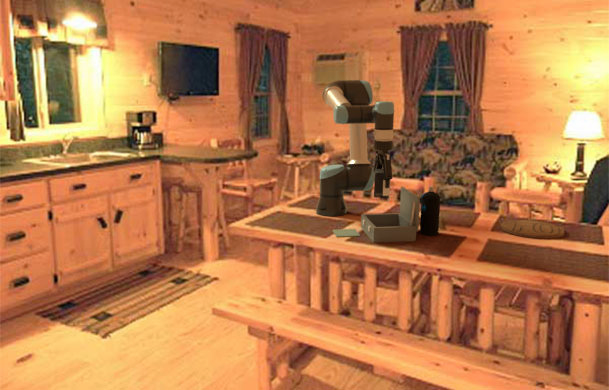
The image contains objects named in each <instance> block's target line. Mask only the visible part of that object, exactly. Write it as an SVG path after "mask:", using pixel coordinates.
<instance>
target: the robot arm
mask: <svg viewBox="0 0 609 390" xmlns="http://www.w3.org/2000/svg"><path fill="white" fill-rule="evenodd" d="M373 98H374V95H373V88H372V85H371V83H370V82H369V81H368V80H361V79H356V80H355V79H352V80H350V79H349V80H347V79H346V80H343V79H342V80H339V79H338V80H333V81H332V82H330V83H328V84H327V85H326V86H325V87H324V88H323V91H322V99H323V101H324V103H325V104H326V105H327V106H330V107H331V109H332V110H333V112H332V113H333V116H332V117H333V122H334V123H335V124H340V125H348V136H349V139H348V140H349V161H348V162H347V163H346V167H345V166H344V164H330V165H326V166H323V167H321V168H320V171H319V177H318V178H319V197H318V202H317V204H316V208H315V213H316V214H317V215H320V216H324V217H325V216H328V217H338V216H344V215H346V214H347V213H348V207H347V205H346V202H345V198H344V192H363V191H370V190H371V189H372V188H373V187H374V180H375V170H376V169H383V174H384V178H383V179H382V180H383V196H389V197H390V195H391V180H392V179H393V169H392V167H393V166H392V154H389V151H392V150H393V147H394V145H393V144H394V141H393V139H394V118H395V117H394V116H395V103H394V102H393V101H388V100H387V101H386V100H385V101H381V100H379V101H376V102H375V103H374V104H373V105H372V103H373ZM367 124H368V125H369V124H370V125H371V124H374V131H373V135H374V142H373V144H374V145H373V148H374V150H375V155H374V164H373V166H372V163H371V162H370V161H369V159H368V135H367V134H368V129H367V126H368V125H367Z"/></svg>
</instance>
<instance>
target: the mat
mask: <svg viewBox="0 0 609 390" xmlns="http://www.w3.org/2000/svg"><path fill="white" fill-rule="evenodd" d="M332 233H333V235H334V236H335V237H336V238H351V237H353V238H354V237H361V234H360V233H359V232H358V231H357V229H356V228H345V229H342V228H341V229H332Z"/></svg>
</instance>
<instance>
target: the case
mask: <svg viewBox="0 0 609 390" xmlns="http://www.w3.org/2000/svg"><path fill="white" fill-rule="evenodd" d="M420 199H421V196H419V195H417V193H416V194H415V193H414V192H413V191H410V190H409V189H408V188H406V187H405V186H400V202H399V203H400V204H399V206H400V207H399V212H393V213H392V212H391V213H362V214H361V215H360V229H361V230H362V231H364V233H365V234H366V235H367V237H368V238H369V239H370V240H371V241H372V243H375V244H376V243H396V242H397V243H399V242H416V240H417V232H419V229H420V207H421V203H420V202H421V200H420Z"/></svg>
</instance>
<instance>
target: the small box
mask: <svg viewBox="0 0 609 390" xmlns="http://www.w3.org/2000/svg"><path fill="white" fill-rule="evenodd" d="M383 178H384V174H383V168H382V169H376V170H375V180H374V184H373V187H374V189H373V198H378V199H379V198H380V199H381V198H382V199H388V198H389V197H390V196H383V180H382V179H383Z"/></svg>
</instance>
